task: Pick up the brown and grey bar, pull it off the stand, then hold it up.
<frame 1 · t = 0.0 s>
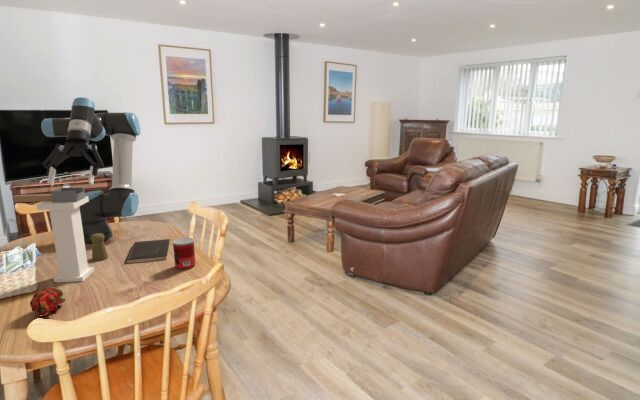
hand: (70, 184, 143), 36 cm above the table, fingers open, 13 cm apart
brown and grey bar: (69, 200, 144), point 30 cm above the table, touching stand
stand: (75, 276, 150), on the table
canned food: (185, 266, 160), on the table
cork: (100, 258, 168), on the table
dragon fruit: (49, 313, 123), on the table
hardcover book: (150, 253, 176), on the table
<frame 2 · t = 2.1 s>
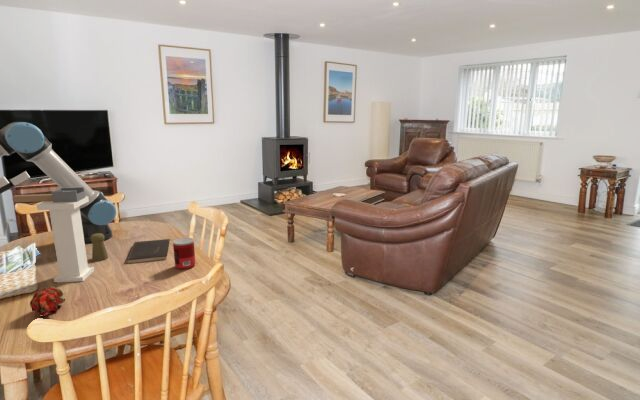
hand: (17, 176, 146), 38 cm above the table, fingers open, 13 cm apart
nothing on the table moved.
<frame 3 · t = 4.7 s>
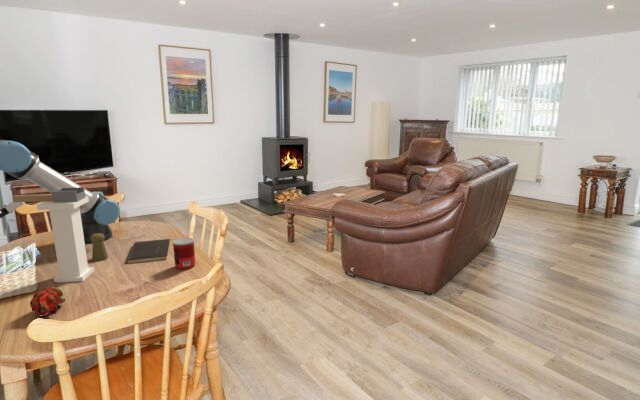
hand: (10, 204, 141), 29 cm above the table, fingers open, 13 cm apart
nothing on the table moved.
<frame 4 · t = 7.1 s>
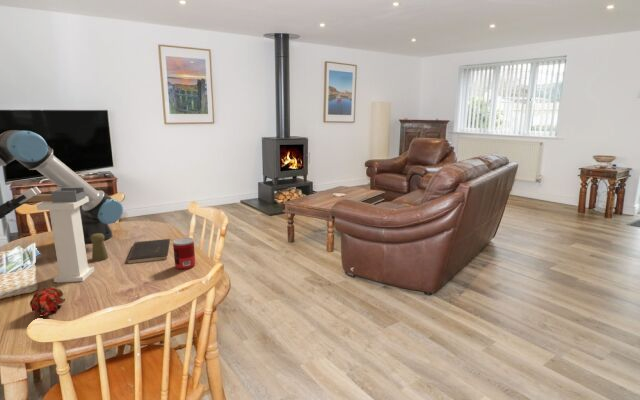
hand: (35, 190, 141), 34 cm above the table, fingers closed on brown and grey bar, 2 cm apart
brown and grey bar: (69, 200, 144), point 30 cm above the table, touching gripper, stand
everything else where it was.
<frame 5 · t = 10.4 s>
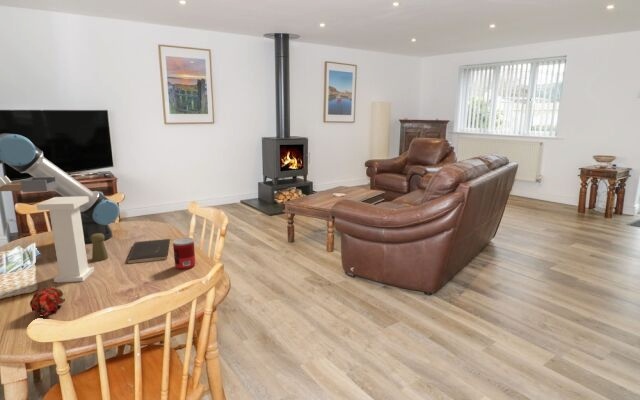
hand: (5, 179, 139), 38 cm above the table, fingers closed on brown and grey bar, 2 cm apart
brown and grey bar: (40, 189, 141), point 34 cm above the table, touching gripper
everything else where it was.
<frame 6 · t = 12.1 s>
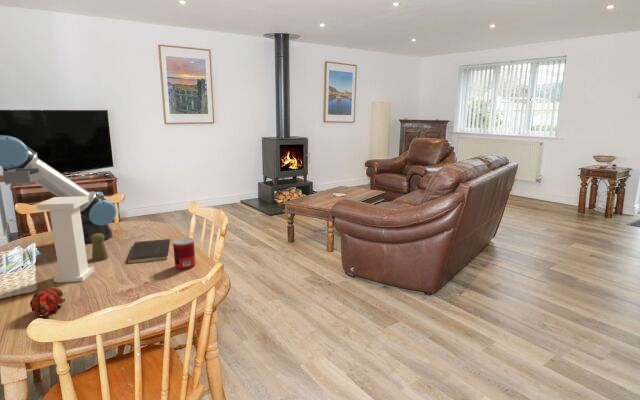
brown and grey bar: (23, 180, 141), point 37 cm above the table, touching gripper
everything else where it was.
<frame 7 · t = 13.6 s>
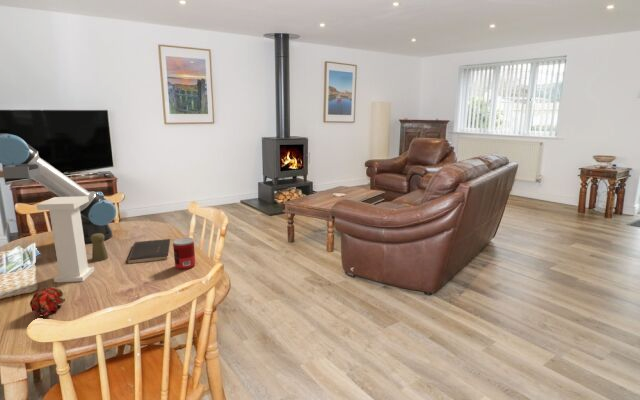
brown and grey bar: (23, 176, 141), point 39 cm above the table, touching gripper
everything else where it was.
at the end: brown and grey bar moved 17.3 cm from its start; brown and grey bar touching gripper; the gripper is holding brown and grey bar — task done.
